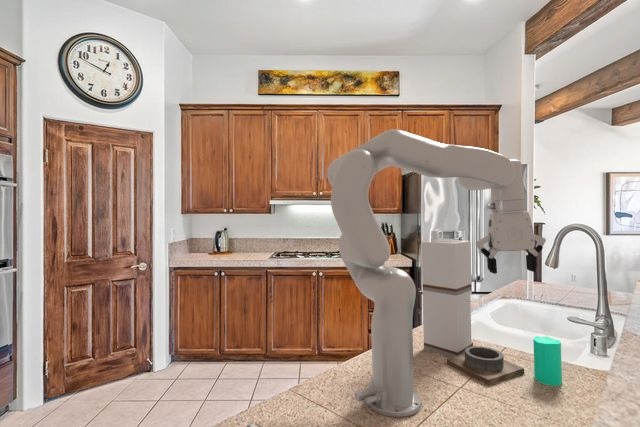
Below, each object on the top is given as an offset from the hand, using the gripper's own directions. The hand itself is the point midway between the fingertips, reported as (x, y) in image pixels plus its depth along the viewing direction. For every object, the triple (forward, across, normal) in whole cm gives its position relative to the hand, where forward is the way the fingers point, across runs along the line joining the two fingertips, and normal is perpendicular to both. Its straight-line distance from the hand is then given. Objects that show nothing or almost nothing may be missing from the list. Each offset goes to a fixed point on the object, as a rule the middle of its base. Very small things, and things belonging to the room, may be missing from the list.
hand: (512, 271), depth 89 cm
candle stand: (+28, -7, +5) cm, 29 cm away
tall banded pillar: (+28, -13, +19) cm, 36 cm away
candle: (+29, +7, -1) cm, 30 cm away
